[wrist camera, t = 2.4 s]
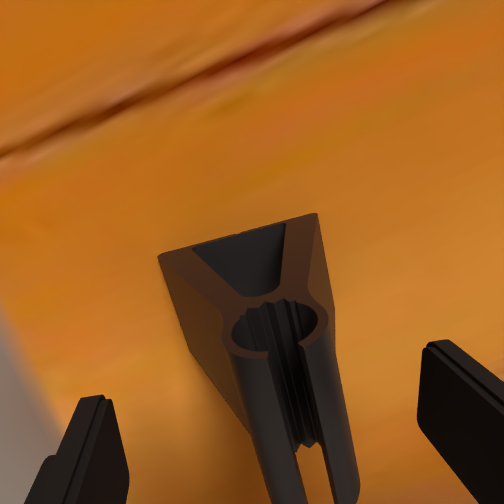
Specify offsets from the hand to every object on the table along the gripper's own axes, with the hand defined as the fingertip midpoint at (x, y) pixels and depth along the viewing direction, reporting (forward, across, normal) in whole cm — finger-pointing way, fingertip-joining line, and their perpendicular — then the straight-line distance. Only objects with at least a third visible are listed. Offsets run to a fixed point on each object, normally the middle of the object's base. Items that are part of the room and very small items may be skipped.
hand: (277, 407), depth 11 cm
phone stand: (+11, -1, 0) cm, 11 cm away
